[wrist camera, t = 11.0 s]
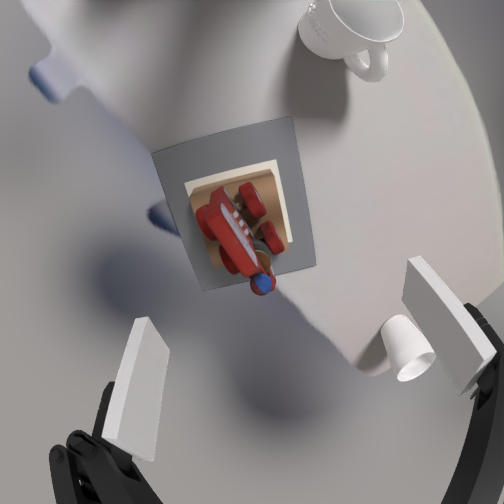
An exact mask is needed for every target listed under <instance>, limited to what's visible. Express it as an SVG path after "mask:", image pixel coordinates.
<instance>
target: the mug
mask: <svg viewBox="0 0 504 504" xmlns="http://www.w3.org/2000/svg"><path fill="white" fill-rule="evenodd" d="M308 8H309V9H308V10H307V11H306V12H305V14H304V15H303V16H302V17H301V19H300V21H299V25H298V31H299V35H300V38H301V40H302V42H303V43H304V45H305V46H306V47H307V48H308V49H309V50H310V51H312V52H313V53H315V54H316V55H318V56H320V57H323V58H326V59H342V58H343V60H344V62H345V63H346V65H347V66H348V67H349V68H350V70H351V71H352V72H353V73H354V74H355V75H356V76H358V77H359V78H361V79H362V80H364V81H367V82H378V81H380V80H381V79H383V78H384V77H385V75H386V73H387V69H388V55H387V50H386V47H385V43H388V42H391V41H393V40H395V39H396V38H397V37H398V36H399V35H400V34H401V32H402V29H403V26H404V16H403V12H402V9H401V7H400V5H399V3H398V2H397V0H315V1H314V3H313V4H310V5H309V7H308ZM367 49H368V52H369V57H370V67H368V66H367V65H365V64H364V63H363V62H362V60H361V59H360V58H359V57H358V55H357V53H358V52H361V51H364V50H367Z"/></svg>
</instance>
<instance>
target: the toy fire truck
mask: <svg viewBox="0 0 504 504" xmlns="http://www.w3.org/2000/svg"><path fill="white" fill-rule="evenodd" d="M238 190H239V193H240V195H241V197H242V200H243V201H240V202H238V203H236V204H235V202H234V201H233V200H232V198H231V197H230V195H229V194H228V192H227V191H226V189H225V188H224V187H223V186H221V187H219V188H218V189H216V190H214V191H213V192H212V193H211V194H210V202H209V205H208V204H205V205H203V206H201V207H200V208H198V209H197V210H196V212H195V215H196V220H197V223H198V225H199V227H200V229H201V231H202V232H203V234H204V235H205V236H206V237H207V238H208V239H209V240H210V241H216V240H218V241H219V242H220V245H219V254H220V257H221V260H222V262H223V264H224V266H225V268H226V269H227V270H228V271H229V272H230V273H231V274H232V275H236V274H238V273H241V274H242V275H243V276H244V277H246V278H247V277H249V279H250V280H251V281H250V286H251V290H252V291H253V292H254V293H255V294H257V295H261V296H262V295H266V294H267V293H269V292H270V291H273V290H274V289H275V284H276V279H275V275H274V272H273V268H272V265H271V262H270V251H271V252H272V254H273V255H278V254H280V253H282V252H283V251H284V250H285V247H284V245H283V242H282V240H281V238H280V236H279V234H278V232H277V230H276V228H275V227H274V225H273V223H272V222H271V221H270V220H268V221H266V222H264V223H262V224H260V226H259V228H260V230H261V233H262V235H263V238H261V239H259V240H257V239H256V237H255V236H254V234H253V233H252V231H251V230H250V228H249V226H248V225H247V223H246V221H245V220H244V218H243V217H242V215H241V213H240V211H243V210H245V209H248V210H249V212H250V213H251V215H252V216H253V218H255V219H259V218H261V217H263V216H265V215H266V214H267V210H266V208H265V206H264V203H263V201H262V200H261V198H260V196H259V194H258V192H257V190H256V189H255V187H254V186H253V184H252V183H251V182H246V183H245V184H243V185H241V186H239V188H238Z"/></svg>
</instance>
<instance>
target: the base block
mask: <svg viewBox="0 0 504 504" xmlns="http://www.w3.org/2000/svg"><path fill="white" fill-rule="evenodd" d="M246 182H251V183H252V184H253V186H254V187H255V189H256V190H257V192H258V194H259V196H260V198H261V200H262V201H263V203H264V206H265V208H266V210H267V214H266V215H265V216H263V217H261V218H259V219H255V218H253V216H252V215H251V213H250V212H249V210H248V209H245V210H243V211H240V213H241V215H242V217H243V218H244V220H245V221H246V223H247V225H248V226H249V228H250V230H251V231H252V233H253V234H254V236H255V237H256V239H257V240H259V239H261V238H263V235H262V233H261V230H260V228H259V226H260V224H262V223H264V222H266V221H268V220H270V221H271V222H272V223H273V225H274V227H275V228H276V230H277V232H278V234H279V236H280V238H281V240H282V242H283V245H284V247H285V250H284V251H283V252H282V253H284V252H289V251H290V250H289V244H288V239H287V234H286V229H285V224H284V219H283V214H282V209H281V204H280V199H279V195H278V190H277V185H276V181H275V176H274V174H273V173H272V171H271V169H266V170H262V171H257V172H253V173H249V174H245V175H241V176H237V177H233V178H229V179H225V180H221V181H217V182H214V183H210V184H206V185H203V186H199V187H196V188H194V189H193V191H192V193H191V195H190V197H189V199H190V202H191V205H192V208H193V211H194V214H195V212H196V210H197V209H198V208H200V207H201V206H203V205H205V204H208V205H209V202H210V194H211V193H212V192H213V191H214V190H216V189H218V188H219V187H221V186H223V187H224V188H225V189H226V191H227V192H228V194H229V195H230V197H231V198H232V200H233V201H234V202H235V204H236V203H238V202H240V201H243V200H242V197H241V195H240V193H239V190H238V188H239V186H241V185H243V184H245V183H246ZM195 217H196V215H195ZM199 228H200V227H199ZM200 231H201V229H200ZM201 234H202V237H203V240H204V242H205V245H206V248H207V251H208V254H209V256H210V259H211V262H212V265H213V267H214V269H216V268H220V267H224V264H223V262H222V260H221V257H220V254H219V245H220V242H219V241H218V240H216V241H210V240H209V239H208V238H207V237H206V236H205V235H204V234H203V232H202V231H201ZM272 255H273V254H272V252H271V251H270V256H272Z"/></svg>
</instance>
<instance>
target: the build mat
mask: <svg viewBox="0 0 504 504" xmlns="http://www.w3.org/2000/svg"><path fill="white" fill-rule="evenodd" d="M151 155H152V158H153V161H154V164H155V167H156V170H157V173H158V176H159V179H160V181H161V185H162V187H163V190H164V193H165V196H166V199H167V202H168V204H169V207H170V210H171V213H172V215H173V218H174V221H175V223H176V226H177V229H178V231H179V234H180V236H181V239H182V241H183V244H184V247H185V249H186V252H187V254H188V257H189V259H190V261H191V264H192V266H193V269H194V271H195V274H196V276H197V279H198V281H199V283H200V285H201V288H202V290H203V291H207V290H211V289H216V288H220V287H225V286H230V285H234V284H239V283H243V282H248V281H251V280H250V279H249V277H247V278H246V277H244V276H243V275H242V274H241V273H238V274H236V275H232V274H231V273H230V272H229V271H228V270H227V269H226V268H225V266H224V267H220V268H216V269H214V267H213V265H212V262H211V259H210V256H209V254H208V251H207V248H206V245H205V242H204V240H203V237H202V234H201V231H200V228H199V225H198V223H197V220H196V217H195V214H194V211H193V208H192V205H191V202H190V199H189V197H190V195H191V193H192V191H193V189H194V188H196V187H199V186H203V185H206V184H210V183H214V182H217V181H221V180H225V179H229V178H233V177H237V176H241V175H245V174H249V173H253V172H257V171H262V170H266V169H271V171H272V173H273V174H274V176H275V181H276V185H277V190H278V195H279V199H280V204H281V209H282V214H283V219H284V224H285V229H286V234H287V239H288V244H289V250H290V251H289V252H284V253H280V254H278V255H272V256H270V262H271V265H272V268H273V272H274V275H278V274H282V273H287V272H291V271H295V270H299V269H303V268H307V267H311V266H316V257H315V249H314V242H313V235H312V228H311V221H310V215H309V208H308V202H307V196H306V190H305V184H304V179H303V173H302V168H301V162H300V157H299V152H298V147H297V142H296V137H295V132H294V127H293V123H292V118H291V117H286V118H281V119H276V120H271V121H266V122H261V123H256V124H252V125H248V126H243V127H239V128H235V129H231V130H227V131H223V132H220V133H216V134H212V135H209V136H205V137H202V138H198V139H195V140H192V141H188V142H185V143H182V144H179V145H176V146H173V147H170V148H167V149H164V150H161V151H158V152H156V153H153V154H151Z"/></svg>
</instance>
